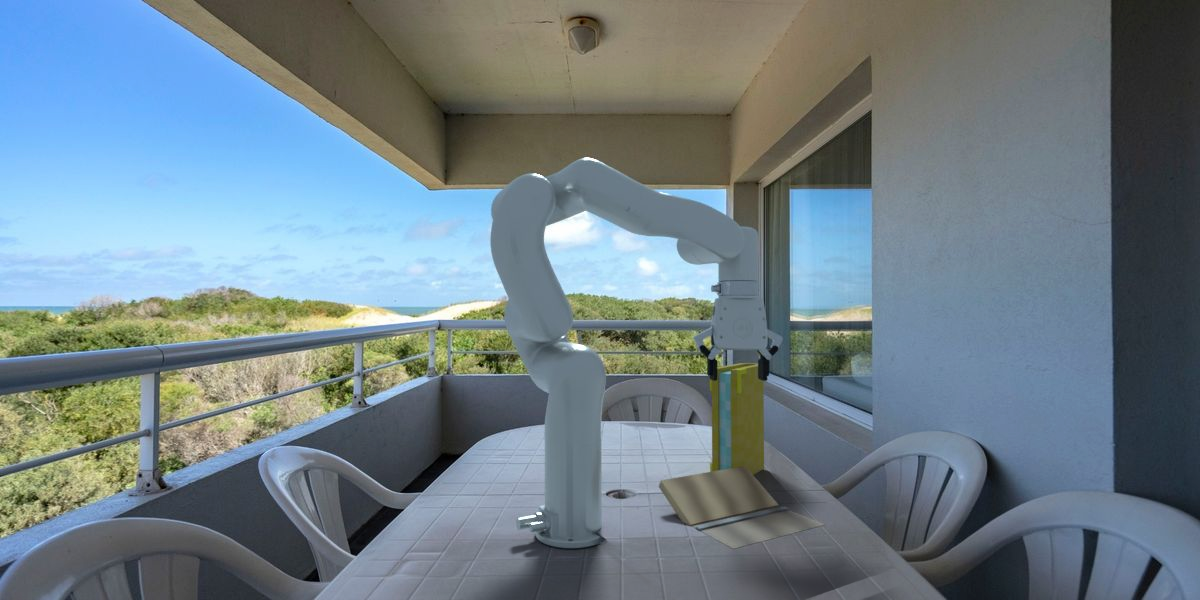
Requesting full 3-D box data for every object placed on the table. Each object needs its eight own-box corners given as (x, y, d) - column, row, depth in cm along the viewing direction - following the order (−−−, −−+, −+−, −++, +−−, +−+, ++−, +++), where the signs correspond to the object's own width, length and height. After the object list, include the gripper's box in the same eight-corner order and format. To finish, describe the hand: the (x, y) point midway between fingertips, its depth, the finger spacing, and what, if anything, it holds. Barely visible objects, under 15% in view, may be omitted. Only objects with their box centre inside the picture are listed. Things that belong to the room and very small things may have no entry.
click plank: (688, 530, 93) (690, 524, 93) (658, 486, 101) (660, 480, 100) (775, 510, 103) (778, 504, 102) (742, 471, 110) (745, 465, 110)
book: (740, 491, 115) (739, 370, 115) (710, 485, 119) (709, 368, 119) (769, 473, 128) (768, 364, 129) (742, 468, 132) (741, 362, 133)
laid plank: (733, 558, 83) (733, 546, 83) (692, 535, 92) (691, 524, 92) (825, 533, 93) (825, 522, 93) (780, 514, 102) (779, 504, 102)
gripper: (698, 290, 104) (698, 382, 103) (789, 291, 105) (789, 382, 104) (689, 291, 111) (689, 377, 111) (774, 292, 112) (774, 378, 112)
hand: (738, 379), depth 107 cm, fingers open, 9 cm apart
